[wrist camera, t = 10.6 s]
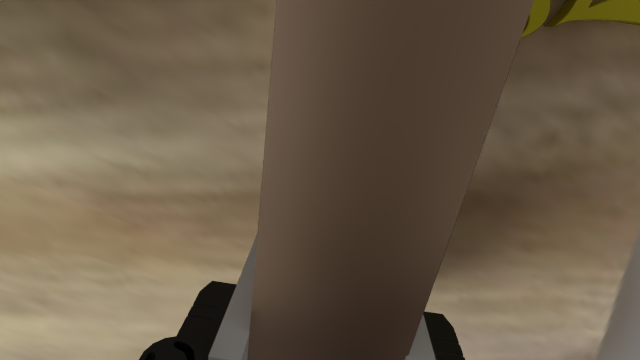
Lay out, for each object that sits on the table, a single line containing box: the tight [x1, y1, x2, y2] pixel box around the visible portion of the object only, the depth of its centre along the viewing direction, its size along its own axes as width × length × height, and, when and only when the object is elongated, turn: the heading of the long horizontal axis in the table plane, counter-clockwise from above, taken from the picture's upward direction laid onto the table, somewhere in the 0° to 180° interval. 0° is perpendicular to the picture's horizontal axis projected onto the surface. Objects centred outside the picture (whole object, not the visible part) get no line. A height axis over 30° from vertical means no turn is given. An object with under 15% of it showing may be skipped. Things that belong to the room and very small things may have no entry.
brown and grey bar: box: [247, 0, 534, 360], centre depth 12 cm, size 4×28×6 cm, turn 172°
